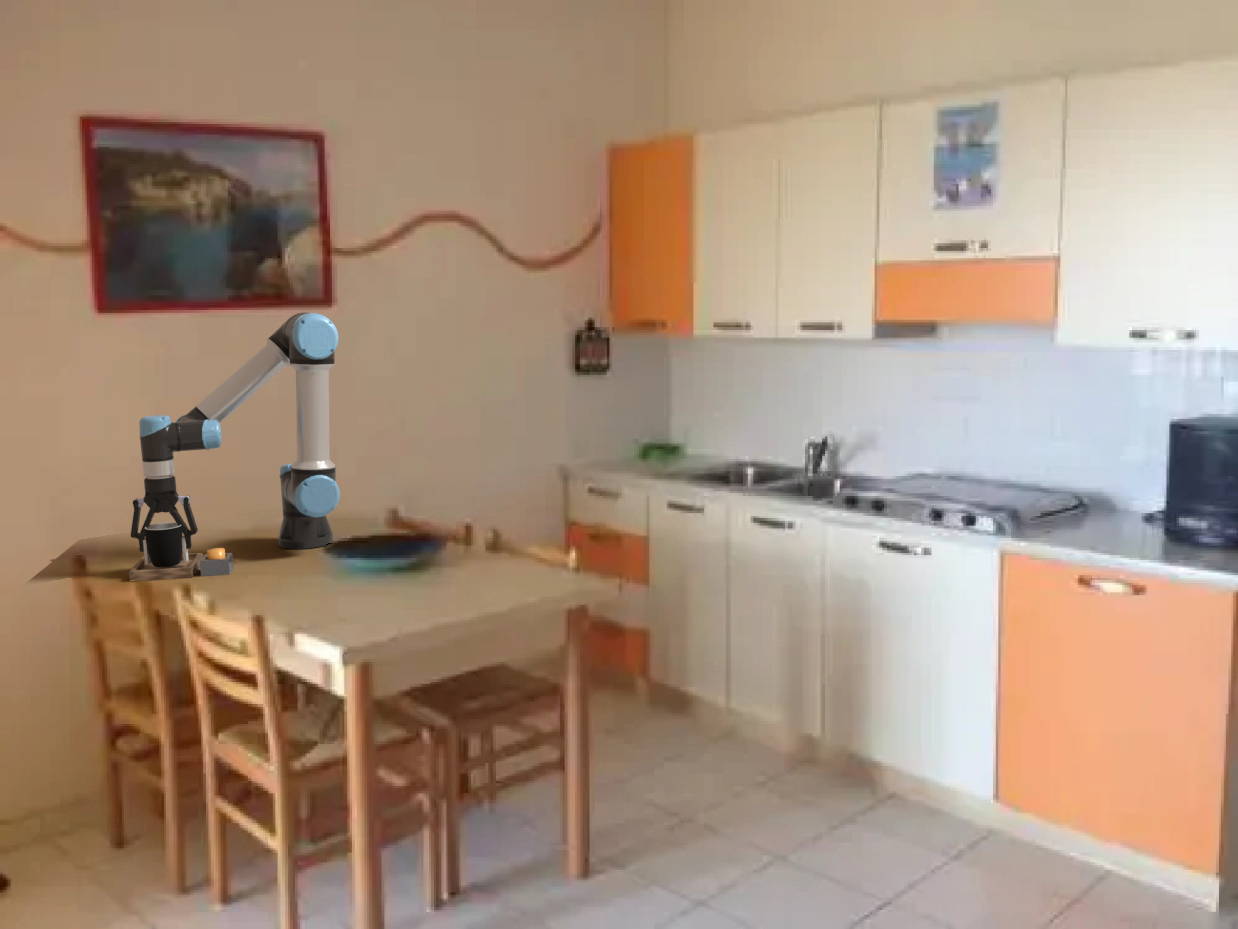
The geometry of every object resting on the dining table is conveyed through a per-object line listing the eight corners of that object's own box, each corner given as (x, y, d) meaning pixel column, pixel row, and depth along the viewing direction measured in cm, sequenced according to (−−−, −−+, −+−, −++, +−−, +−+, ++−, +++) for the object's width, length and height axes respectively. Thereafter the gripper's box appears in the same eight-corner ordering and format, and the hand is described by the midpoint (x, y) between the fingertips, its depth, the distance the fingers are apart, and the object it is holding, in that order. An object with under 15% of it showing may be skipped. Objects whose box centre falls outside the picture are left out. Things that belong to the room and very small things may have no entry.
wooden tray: (203, 562, 322) (202, 552, 321) (192, 577, 305) (191, 568, 305) (144, 565, 319) (143, 556, 319) (129, 581, 303) (128, 571, 302)
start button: (227, 566, 313) (225, 547, 312) (224, 570, 309) (223, 551, 308) (209, 567, 312) (208, 548, 311) (206, 571, 308) (205, 552, 307)
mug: (191, 563, 311) (187, 525, 309) (157, 570, 304) (154, 531, 303) (170, 557, 319) (166, 519, 317) (136, 563, 313) (133, 525, 311)
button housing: (233, 567, 314) (232, 552, 314) (229, 574, 308) (228, 559, 307) (205, 569, 313) (204, 554, 313) (201, 576, 306) (199, 560, 306)
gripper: (205, 471, 314) (212, 556, 317) (118, 476, 310) (126, 561, 314) (200, 476, 306) (208, 563, 310) (111, 481, 303) (119, 568, 306)
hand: (167, 562), depth 312 cm, fingers closed on mug, 9 cm apart
